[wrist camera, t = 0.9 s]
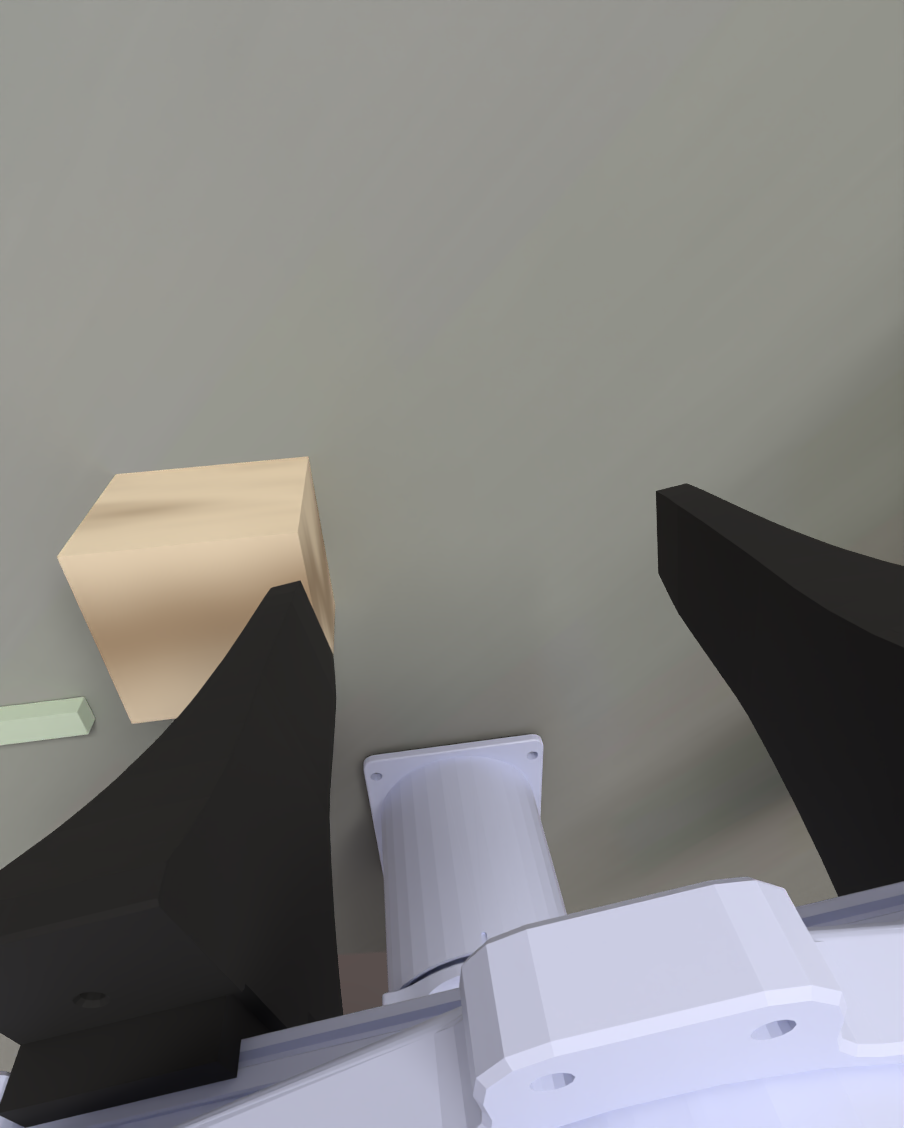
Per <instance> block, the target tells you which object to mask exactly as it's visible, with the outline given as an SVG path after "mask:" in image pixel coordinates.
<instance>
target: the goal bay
mask: <svg viewBox="0 0 904 1128" xmlns="http://www.w3.org/2000/svg"><path fill="white" fill-rule="evenodd" d="M94 721H95V717H94V715H93V713H92V711H91V709H90V707H89V705H88V703H87V701H86V699H85V697H78V698H70V699H62V700H54V701H46V702H37V703H29V704H21V705H13V706H4V707H0V745H7V744H15V743H23V742H30V741H38V740H46V739H54V738H62V737H70V736H78V735H86V734H89V732H90V730H91V727H92V725H93V723H94Z"/></svg>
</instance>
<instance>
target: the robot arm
mask: <svg viewBox="0 0 904 1128" xmlns="http://www.w3.org/2000/svg"><path fill="white" fill-rule="evenodd" d="M656 508H657V542H658V573H659V575H660V577H661V579H662V582H663V584H664V586H665V588H666V590H667V592H668V594H669V596H670V598H671V600H672V602H673V604H674V606H675V608H676V610H677V611H678V613H679V615H680V616H681V618H682V619H683V621H684V622H685V624H686V625H687V627H688V628H689V630H690V631H691V633H692V634H693V635H694V637H695V638H696V640H697V641H698V643H699V644H700V646H701V647H702V648H703V650H704V651H705V653H706V654H707V656H708V657H709V658H710V660H711V661H712V663H713V664H714V666H715V667H716V668H717V670H718V671H719V673H720V674H721V676H722V677H723V678H724V680H725V681H726V683H727V684H728V686H729V687H730V688H731V690H732V691H733V693H734V694H735V696H736V697H737V699H738V700H739V702H740V703H741V705H742V707H743V708H744V710H745V711H746V713H747V715H748V716H749V718H750V720H751V722H752V723H753V725H754V727H755V729H756V731H757V733H758V735H759V736H760V738H761V740H762V742H763V744H764V746H765V747H766V749H767V751H768V753H769V755H770V757H771V758H772V760H773V762H774V764H775V766H776V768H777V770H778V772H779V774H780V776H781V778H782V780H783V782H784V784H785V786H786V788H787V790H788V791H789V793H790V795H791V797H792V799H793V801H794V803H795V805H796V807H797V809H798V811H799V813H800V816H801V818H802V820H803V822H804V824H805V826H806V828H807V830H808V832H809V834H810V836H811V838H812V840H813V842H814V844H815V847H816V849H817V851H818V853H819V855H820V857H821V859H822V861H823V864H824V866H825V868H826V870H827V872H828V875H829V877H830V879H831V881H832V883H833V886H834V888H835V890H836V892H837V894H838V897H836V898H832V899H827V900H823V901H819V902H815V903H811V904H806V905H802V906H798V907H795V906H794V905H793V903H792V901H791V899H790V897H789V896H788V894H787V892H786V890H785V889H784V888H782V887H779V886H776V885H773V884H770V883H767V882H763V881H760V880H757V879H753V878H750V877H738V878H728V879H719V880H709V881H705V882H701V883H697V884H693V885H688V886H684V887H680V888H676V889H672V890H668V891H663V892H659V893H655V894H651V895H647V896H643V897H638V898H634V899H630V900H626V901H622V902H618V903H613V904H609V905H605V906H601V907H597V908H593V909H588V910H584V911H580V912H576V913H572V914H568V915H567V913H566V909H565V906H564V902H563V898H562V895H561V891H560V888H559V884H558V880H557V877H556V873H555V870H554V866H553V862H552V859H551V855H550V852H549V848H548V844H547V841H546V837H545V833H544V830H543V826H542V823H541V819H540V814H541V790H542V766H543V742H542V739H541V737H540V736H539V735H536V734H529V735H521V736H514V737H506V738H498V739H491V740H483V741H476V742H468V743H461V744H453V745H446V746H438V747H431V748H423V749H416V750H408V751H401V752H393V753H385V754H378V755H372V756H369V757H367V758H366V759H365V760H364V775H365V780H366V785H367V791H368V796H369V802H370V807H371V812H372V818H373V823H374V829H375V834H376V839H377V845H378V850H379V856H380V861H381V866H382V872H383V877H384V896H385V920H386V944H387V968H388V992H387V993H384V994H383V996H382V1003H383V1006H379V1007H375V1008H371V1009H367V1010H363V1011H359V1012H354V1013H350V1014H346V1015H343V1008H342V999H341V989H340V979H339V968H338V955H337V943H336V930H335V918H334V902H333V886H332V869H331V846H330V822H329V812H330V787H331V772H332V758H333V743H334V728H335V712H336V685H335V671H334V659H333V653H332V650H331V648H330V646H329V644H328V641H327V639H326V637H325V635H324V632H323V630H322V628H321V626H320V623H319V621H318V619H317V616H316V614H315V612H314V610H313V607H312V605H311V603H310V601H309V598H308V596H307V594H306V592H305V589H304V587H303V585H302V583H301V580H300V581H296V582H292V583H288V584H284V585H280V586H276V587H272V588H270V590H269V591H268V592H267V594H266V595H265V597H264V598H263V600H262V601H261V603H260V604H259V606H258V608H257V609H256V611H255V612H254V614H253V615H252V617H251V618H250V620H249V621H248V623H247V625H246V626H245V628H244V629H243V631H242V632H241V634H240V635H239V637H238V638H237V640H236V641H235V642H234V644H233V645H232V647H231V648H230V650H229V651H228V653H227V654H226V656H225V657H224V659H223V660H222V661H221V663H220V664H219V665H218V667H217V668H216V669H215V671H214V672H213V673H212V675H211V676H210V677H209V679H208V680H207V681H206V683H205V684H204V685H203V687H202V688H201V689H200V691H199V692H198V693H197V695H196V696H195V697H194V698H193V699H192V701H191V702H190V703H189V704H188V706H187V707H186V708H185V709H184V710H183V711H182V713H181V714H180V715H179V716H178V717H177V718H176V719H175V720H174V722H173V723H172V724H171V725H170V726H169V727H168V728H167V729H166V730H165V731H164V733H163V734H162V735H161V736H160V737H159V738H158V739H157V740H156V741H155V742H154V743H153V744H152V745H151V746H150V747H149V748H148V749H147V750H146V751H145V752H144V753H143V754H142V755H141V756H140V757H139V758H138V759H137V760H136V761H135V762H133V763H132V764H131V765H130V766H129V767H128V768H127V769H126V770H125V771H124V772H123V773H122V774H121V775H120V776H119V777H118V778H117V779H116V780H115V781H114V782H112V783H111V784H110V785H109V786H108V787H107V788H106V789H104V790H103V791H102V792H101V793H100V794H99V795H98V796H96V797H95V798H94V799H93V800H92V801H91V802H89V803H88V804H87V805H86V806H85V807H83V808H82V809H81V810H80V811H78V812H77V813H76V814H75V815H73V816H72V817H71V818H70V819H69V820H67V821H66V822H65V823H64V824H62V825H61V826H60V827H58V828H57V829H56V830H55V831H53V832H52V833H51V834H49V835H48V836H47V837H45V838H44V839H42V840H41V841H40V842H38V843H37V844H36V845H34V846H33V847H31V848H30V849H29V850H27V851H26V852H25V853H23V854H22V855H20V856H19V857H18V858H16V859H15V860H14V861H12V862H11V863H9V864H8V865H7V866H5V867H4V868H3V869H1V870H0V1033H2V1034H3V1035H5V1036H7V1037H8V1038H10V1039H11V1040H13V1041H15V1042H16V1043H18V1044H20V1045H21V1046H20V1048H19V1051H18V1054H17V1057H16V1060H15V1063H14V1065H13V1068H12V1071H11V1073H9V1072H6V1071H0V1128H904V566H901V565H897V564H893V563H889V562H886V561H882V560H879V559H875V558H872V557H869V556H865V555H862V554H858V553H855V552H852V551H848V550H845V549H842V548H839V547H836V546H833V545H830V544H827V543H825V542H822V541H819V540H817V539H814V538H811V537H809V536H806V535H803V534H801V533H798V532H796V531H793V530H791V529H788V528H786V527H783V526H781V525H779V524H776V523H774V522H772V521H769V520H767V519H765V518H762V517H760V516H758V515H756V514H753V513H751V512H749V511H747V510H745V509H742V508H740V507H738V506H736V505H734V504H732V503H730V502H727V501H725V500H723V499H721V498H719V497H717V496H714V495H712V494H710V493H708V492H706V491H704V490H701V489H699V488H697V487H694V486H692V485H689V484H687V483H686V484H682V485H678V486H674V487H670V488H666V489H662V490H658V491H656ZM530 752H531V753H530Z"/></svg>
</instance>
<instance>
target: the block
mask: <svg viewBox="0 0 904 1128" xmlns="http://www.w3.org/2000/svg"><path fill="white" fill-rule="evenodd" d="M57 558H58V560H59V563H60V565H61V567H62V569H63V572H64V574H65V576H66V578H67V580H68V583H69V585H70V587H71V589H72V592H73V594H74V596H75V598H76V600H77V603H78V605H79V607H80V609H81V612H82V614H83V616H84V618H85V620H86V623H87V625H88V627H89V629H90V632H91V634H92V636H93V638H94V640H95V643H96V645H97V647H98V649H99V652H100V654H101V656H102V658H103V660H104V663H105V665H106V667H107V669H108V672H109V674H110V676H111V678H112V680H113V683H114V685H115V687H116V689H117V692H118V694H119V696H120V698H121V700H122V703H123V705H124V707H125V709H126V712H127V714H128V716H129V718H130V720H131V723H132V724H134V723H142V722H150V721H159V720H167V719H175V718H177V717H178V716H179V715H180V714H181V713H182V711H183V710H184V709H185V708H186V707H187V706H188V704H189V703H190V702H191V701H192V699H193V698H194V697H195V696H196V695H197V693H198V692H199V691H200V689H201V688H202V687H203V685H204V684H205V683H206V681H207V680H208V679H209V677H210V676H211V675H212V673H213V672H214V671H215V669H216V668H217V667H218V665H219V664H220V663H221V661H222V660H223V659H224V657H225V656H226V654H227V653H228V651H229V650H230V648H231V647H232V645H233V644H234V642H235V641H236V640H237V638H238V637H239V635H240V634H241V632H242V631H243V629H244V628H245V626H246V625H247V623H248V621H249V620H250V618H251V617H252V615H253V614H254V612H255V611H256V609H257V608H258V606H259V604H260V603H261V601H262V600H263V598H264V597H265V595H266V594H267V592H268V591H269V590H270V588H272V587H276V586H280V585H284V584H288V583H292V582H296V581H300V580H301V583H302V585H303V587H304V589H305V592H306V594H307V596H308V598H309V601H310V603H311V605H312V607H313V610H314V612H315V614H316V616H317V619H318V621H319V623H320V626H321V628H322V630H323V632H324V635H325V637H326V639H327V641H328V644H329V646H330V648H331V650H332V653H333V650H334V624H335V602H334V597H333V591H332V585H331V580H330V574H329V569H328V563H327V558H326V552H325V546H324V541H323V535H322V530H321V524H320V519H319V513H318V507H317V502H316V496H315V491H314V485H313V480H312V474H311V468H310V463H309V457H298V458H287V459H276V460H265V461H255V462H244V463H233V464H222V465H212V466H201V467H190V468H179V469H168V470H158V471H147V472H136V473H125V474H116V475H115V476H114V478H113V479H112V480H111V482H110V483H109V485H108V486H107V487H106V489H105V490H104V492H103V493H102V494H101V496H100V497H99V499H98V500H97V501H96V503H95V504H94V506H93V507H92V508H91V510H90V511H89V513H88V514H87V515H86V517H85V518H84V520H83V521H82V522H81V524H80V525H79V527H78V528H77V529H76V531H75V532H74V534H73V535H72V536H71V538H70V539H69V541H68V542H67V543H66V545H65V546H64V548H63V549H62V550H61V552H60V553H59V555H58V556H57Z"/></svg>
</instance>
